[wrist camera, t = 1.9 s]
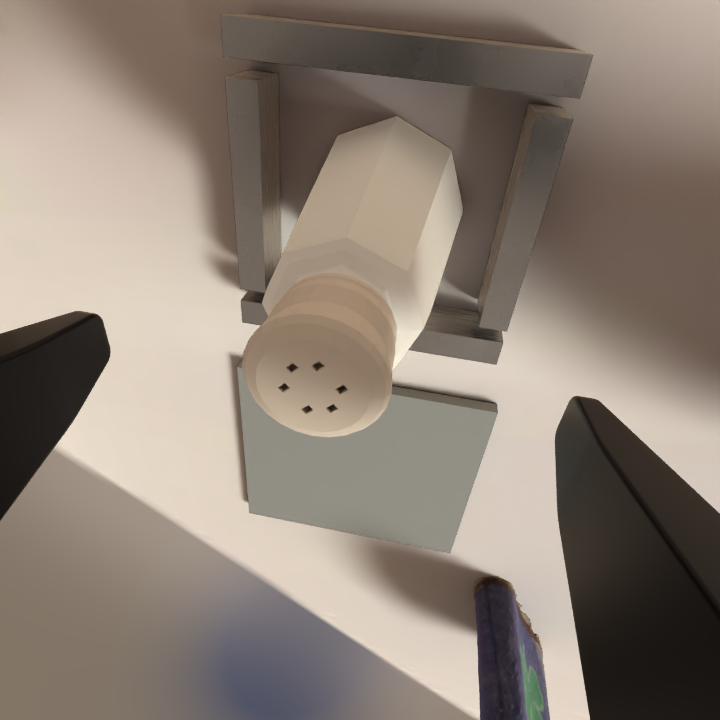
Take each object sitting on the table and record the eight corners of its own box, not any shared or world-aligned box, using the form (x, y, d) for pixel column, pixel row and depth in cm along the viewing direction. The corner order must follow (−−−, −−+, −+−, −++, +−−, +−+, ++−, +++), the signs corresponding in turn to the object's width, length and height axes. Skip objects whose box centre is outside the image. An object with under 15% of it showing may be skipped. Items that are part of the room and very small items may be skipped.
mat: (496, 404, 22) (497, 412, 22) (450, 544, 29) (449, 553, 28) (241, 360, 23) (237, 367, 23) (252, 504, 30) (249, 513, 29)
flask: (546, 650, 34) (573, 868, 25) (503, 651, 35) (516, 861, 26) (509, 573, 29) (527, 805, 21) (462, 577, 30) (461, 800, 22)
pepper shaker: (284, 183, 18) (111, 353, 9) (402, 75, 15) (319, 167, 6) (377, 292, 20) (308, 518, 11) (495, 212, 17) (528, 426, 8)
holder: (578, 49, 14) (593, 55, 13) (493, 336, 20) (496, 364, 18) (246, 13, 15) (220, 14, 13) (259, 298, 21) (242, 322, 19)
